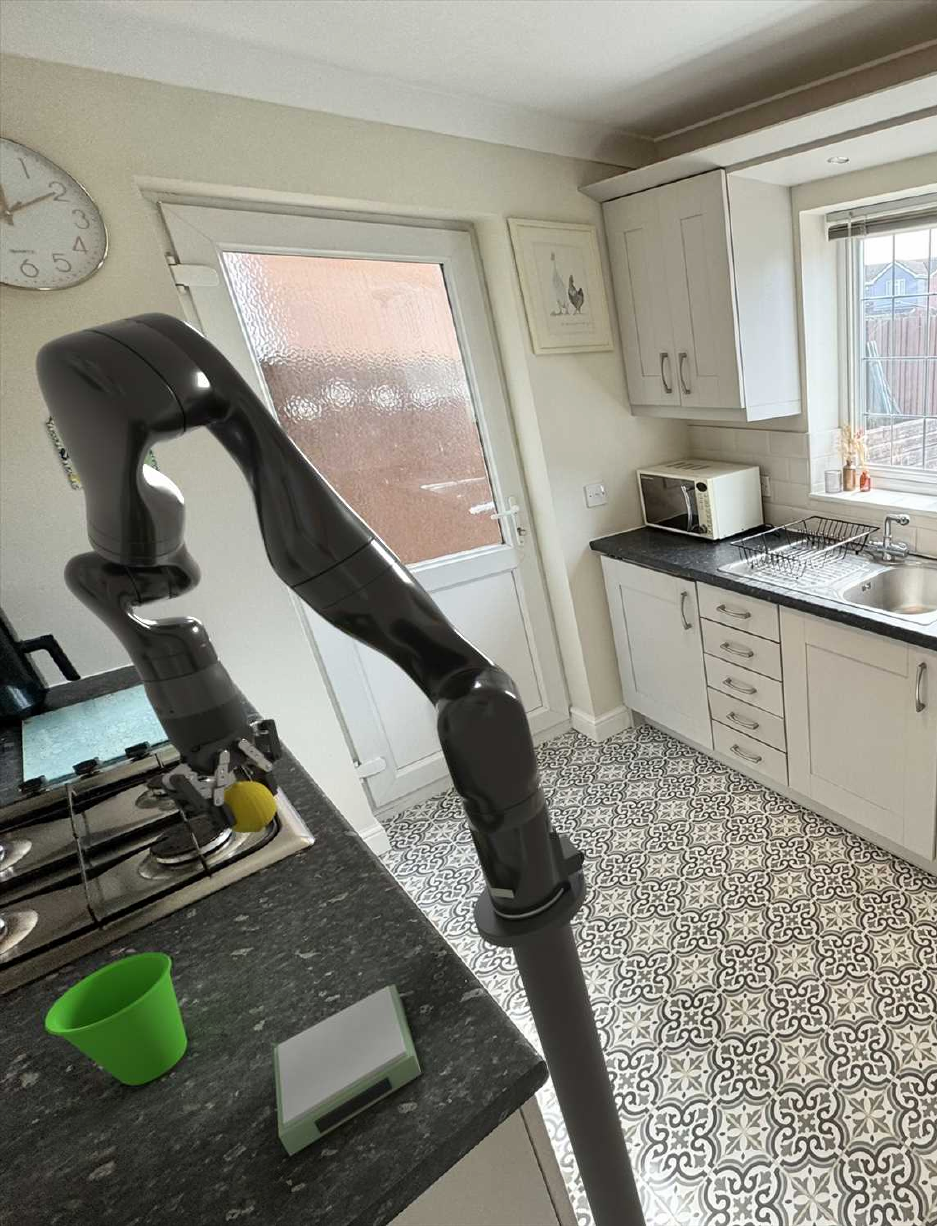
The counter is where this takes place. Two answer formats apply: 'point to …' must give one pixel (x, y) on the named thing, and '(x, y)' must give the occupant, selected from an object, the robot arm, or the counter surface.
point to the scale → (342, 1067)
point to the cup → (124, 1018)
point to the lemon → (250, 806)
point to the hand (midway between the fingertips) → (249, 810)
